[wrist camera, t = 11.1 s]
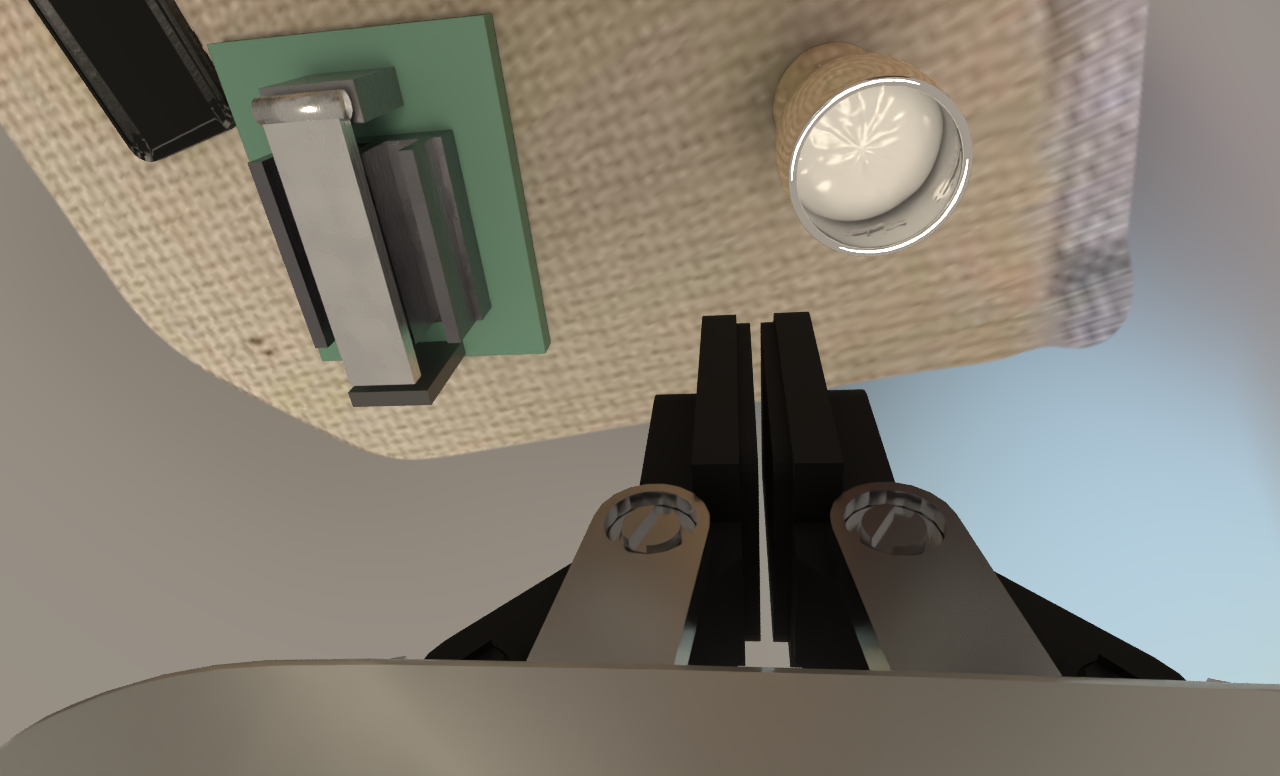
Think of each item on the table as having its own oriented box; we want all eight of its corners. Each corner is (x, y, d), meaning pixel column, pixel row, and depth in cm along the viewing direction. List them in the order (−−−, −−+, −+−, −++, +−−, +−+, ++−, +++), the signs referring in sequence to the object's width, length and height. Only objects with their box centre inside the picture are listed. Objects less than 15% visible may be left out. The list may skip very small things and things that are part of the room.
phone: (142, 167, 44) (-46, -107, 37) (154, 162, 45) (-27, -106, 38) (240, 124, 42) (60, -175, 35) (251, 120, 43) (78, -171, 36)
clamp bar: (264, 95, 35) (247, 99, 34) (346, 87, 34) (332, 91, 33) (356, 376, 43) (346, 387, 42) (425, 374, 42) (416, 385, 41)
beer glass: (917, 122, 39) (1009, 200, 26) (802, 191, 41) (835, 293, 28) (860, 3, 36) (931, 24, 23) (741, 84, 39) (747, 144, 26)
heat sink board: (223, 41, 40) (120, 57, 34) (491, 13, 38) (440, 24, 31) (332, 351, 51) (271, 411, 44) (550, 343, 48) (521, 405, 41)
